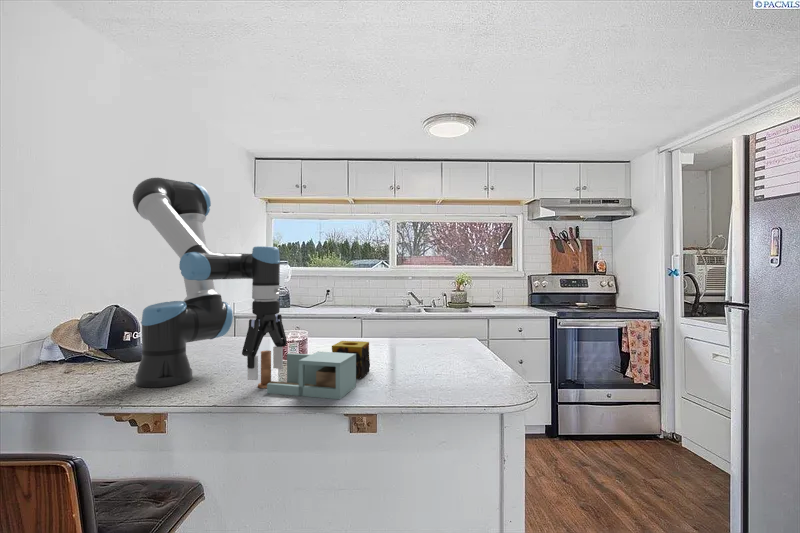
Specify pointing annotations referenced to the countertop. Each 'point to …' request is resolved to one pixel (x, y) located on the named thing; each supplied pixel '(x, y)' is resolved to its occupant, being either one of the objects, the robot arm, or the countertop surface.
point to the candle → (361, 355)
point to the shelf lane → (304, 372)
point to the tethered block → (323, 379)
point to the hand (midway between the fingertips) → (265, 373)
